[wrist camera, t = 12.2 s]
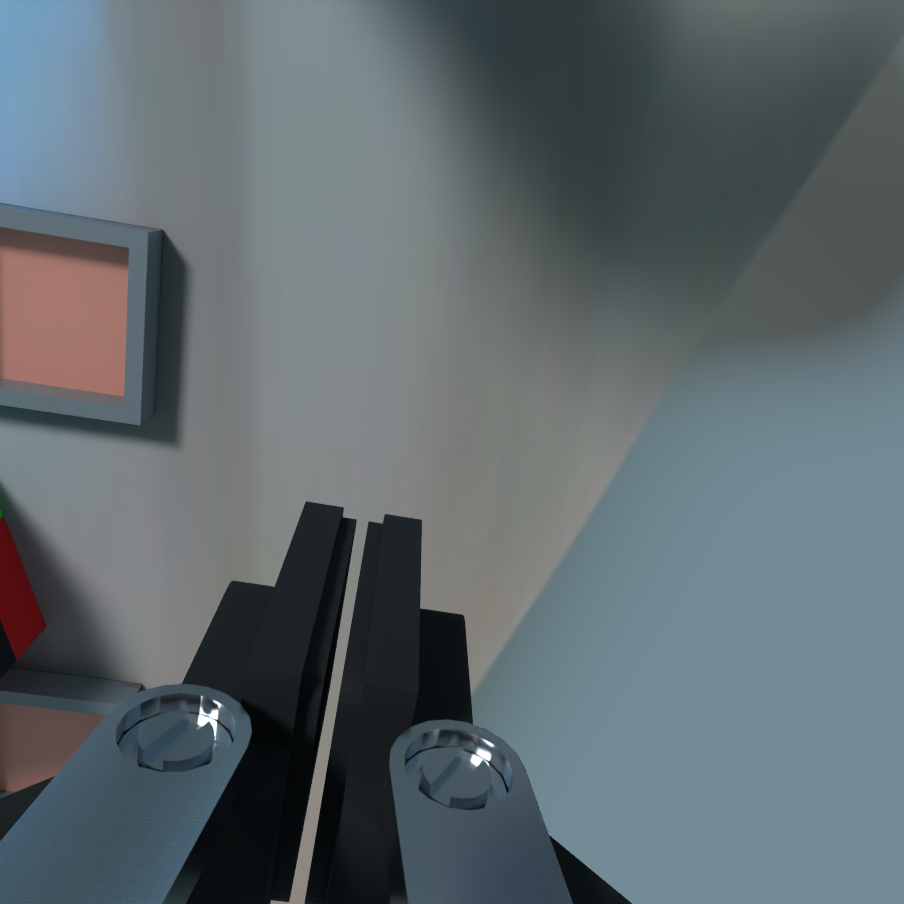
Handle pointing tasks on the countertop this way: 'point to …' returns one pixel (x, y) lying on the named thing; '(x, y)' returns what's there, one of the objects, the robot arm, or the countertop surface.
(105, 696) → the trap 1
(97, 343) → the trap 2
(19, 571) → the puzzle toy
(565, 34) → the countertop surface
